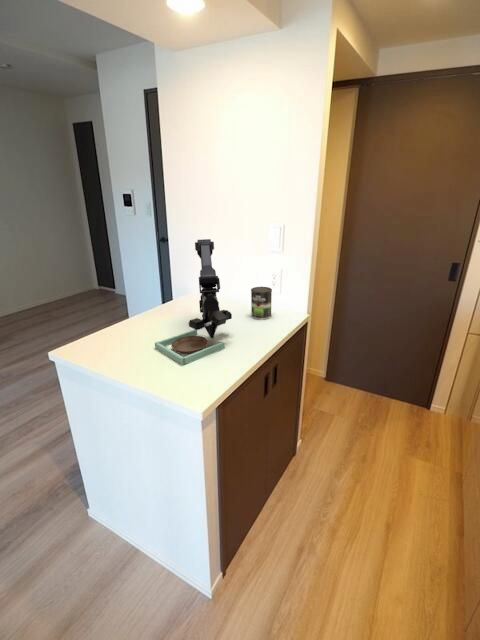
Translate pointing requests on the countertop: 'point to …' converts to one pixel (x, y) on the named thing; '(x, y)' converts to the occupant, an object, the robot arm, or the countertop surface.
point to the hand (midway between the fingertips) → (212, 337)
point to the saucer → (189, 344)
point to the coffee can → (261, 302)
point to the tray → (189, 358)
